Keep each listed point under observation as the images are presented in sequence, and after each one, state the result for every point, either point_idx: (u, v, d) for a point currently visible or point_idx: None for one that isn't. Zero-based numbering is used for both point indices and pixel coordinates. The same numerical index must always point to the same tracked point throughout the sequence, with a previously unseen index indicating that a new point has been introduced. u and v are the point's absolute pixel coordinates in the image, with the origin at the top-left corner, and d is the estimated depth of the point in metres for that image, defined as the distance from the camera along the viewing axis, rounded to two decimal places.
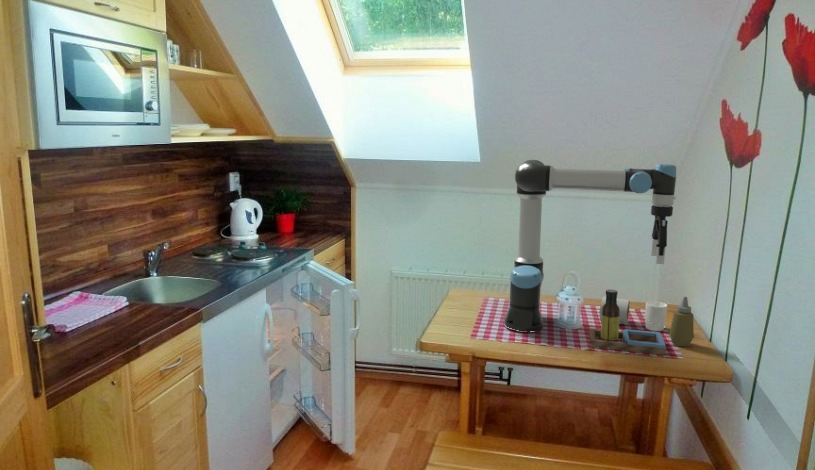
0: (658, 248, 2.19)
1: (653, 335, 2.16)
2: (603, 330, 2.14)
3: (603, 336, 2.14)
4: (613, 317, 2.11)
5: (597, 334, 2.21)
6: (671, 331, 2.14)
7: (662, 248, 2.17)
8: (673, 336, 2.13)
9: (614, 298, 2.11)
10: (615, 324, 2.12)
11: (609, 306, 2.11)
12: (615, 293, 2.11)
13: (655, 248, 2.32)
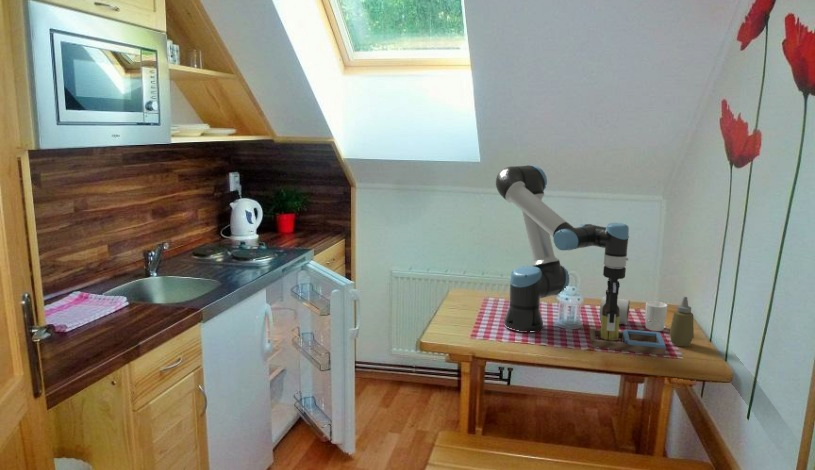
0: (608, 315, 2.10)
1: (653, 335, 2.16)
2: (603, 330, 2.14)
3: (603, 336, 2.14)
4: None
5: (597, 334, 2.21)
6: (671, 331, 2.14)
7: (612, 315, 2.09)
8: (673, 336, 2.13)
9: None
10: (615, 324, 2.12)
11: None
12: None
13: None
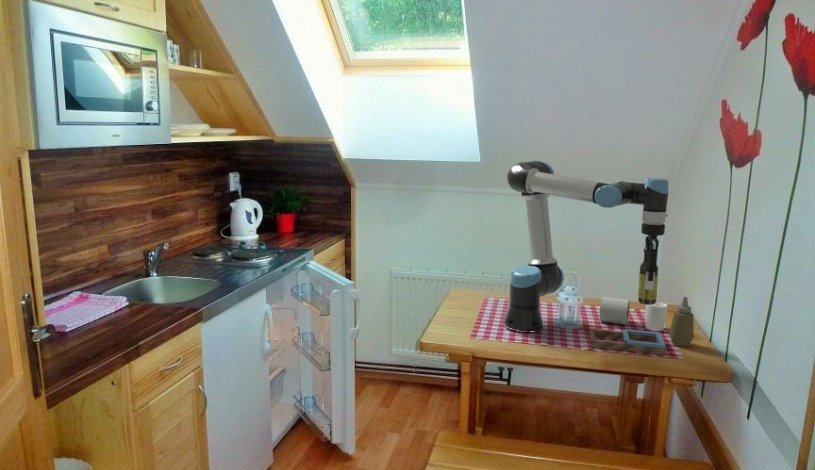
0: (647, 273, 2.04)
1: (653, 335, 2.16)
2: (641, 289, 2.07)
3: (641, 295, 2.08)
4: None
5: (597, 334, 2.21)
6: (671, 331, 2.14)
7: (651, 273, 2.03)
8: (673, 336, 2.13)
9: None
10: (654, 283, 2.05)
11: None
12: None
13: None
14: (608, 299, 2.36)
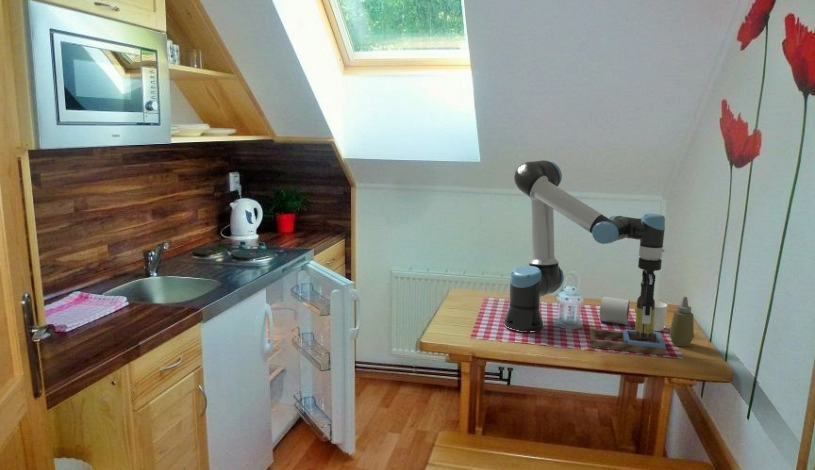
0: (644, 307, 2.06)
1: (653, 335, 2.16)
2: (638, 323, 2.10)
3: (638, 329, 2.10)
4: None
5: (597, 334, 2.21)
6: (671, 331, 2.14)
7: (648, 308, 2.05)
8: (673, 336, 2.13)
9: None
10: (651, 317, 2.08)
11: None
12: None
13: None
14: (608, 299, 2.36)
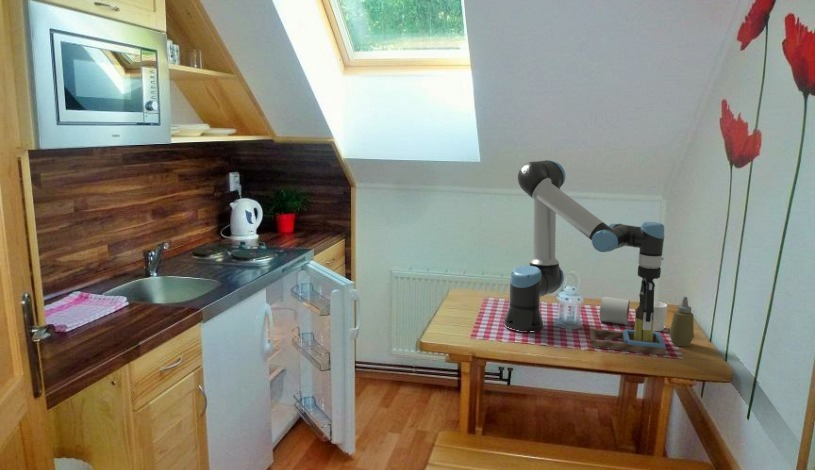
0: (645, 313, 2.04)
1: (653, 335, 2.16)
2: (637, 333, 2.11)
3: (637, 339, 2.11)
4: None
5: (597, 334, 2.21)
6: (671, 331, 2.14)
7: (649, 314, 2.02)
8: (673, 336, 2.13)
9: None
10: None
11: (643, 308, 2.09)
12: None
13: None
14: (608, 299, 2.36)
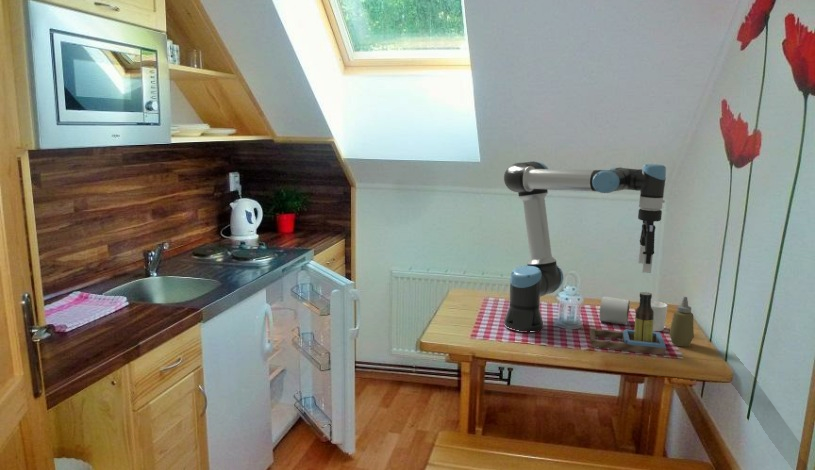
0: (645, 256, 2.01)
1: (653, 335, 2.16)
2: (637, 333, 2.11)
3: (637, 339, 2.11)
4: (647, 320, 2.08)
5: (597, 334, 2.21)
6: (671, 331, 2.14)
7: (649, 256, 2.00)
8: (673, 336, 2.13)
9: (648, 301, 2.08)
10: (650, 328, 2.09)
11: (643, 308, 2.09)
12: (649, 296, 2.08)
13: (643, 255, 2.14)
14: (608, 299, 2.36)
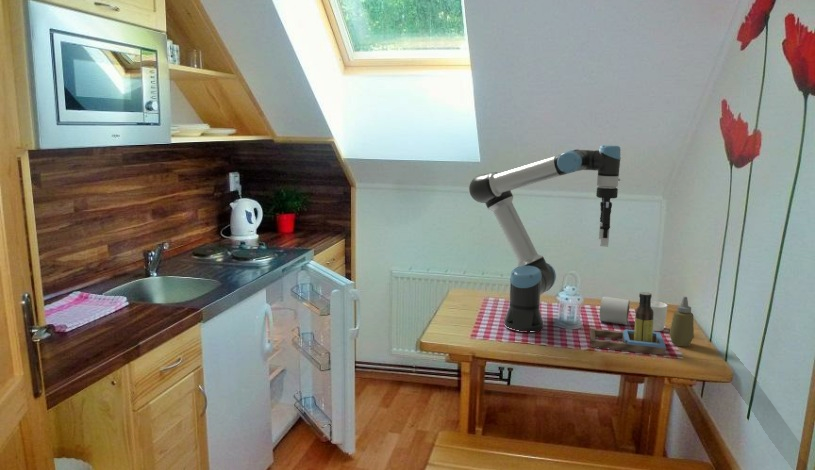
0: (602, 230, 2.15)
1: (653, 335, 2.16)
2: (637, 333, 2.11)
3: (637, 339, 2.11)
4: (647, 320, 2.08)
5: (597, 334, 2.21)
6: (671, 331, 2.14)
7: (606, 230, 2.14)
8: (673, 336, 2.13)
9: (648, 301, 2.08)
10: (650, 328, 2.09)
11: (643, 308, 2.09)
12: (649, 296, 2.08)
13: None
14: (608, 299, 2.36)
